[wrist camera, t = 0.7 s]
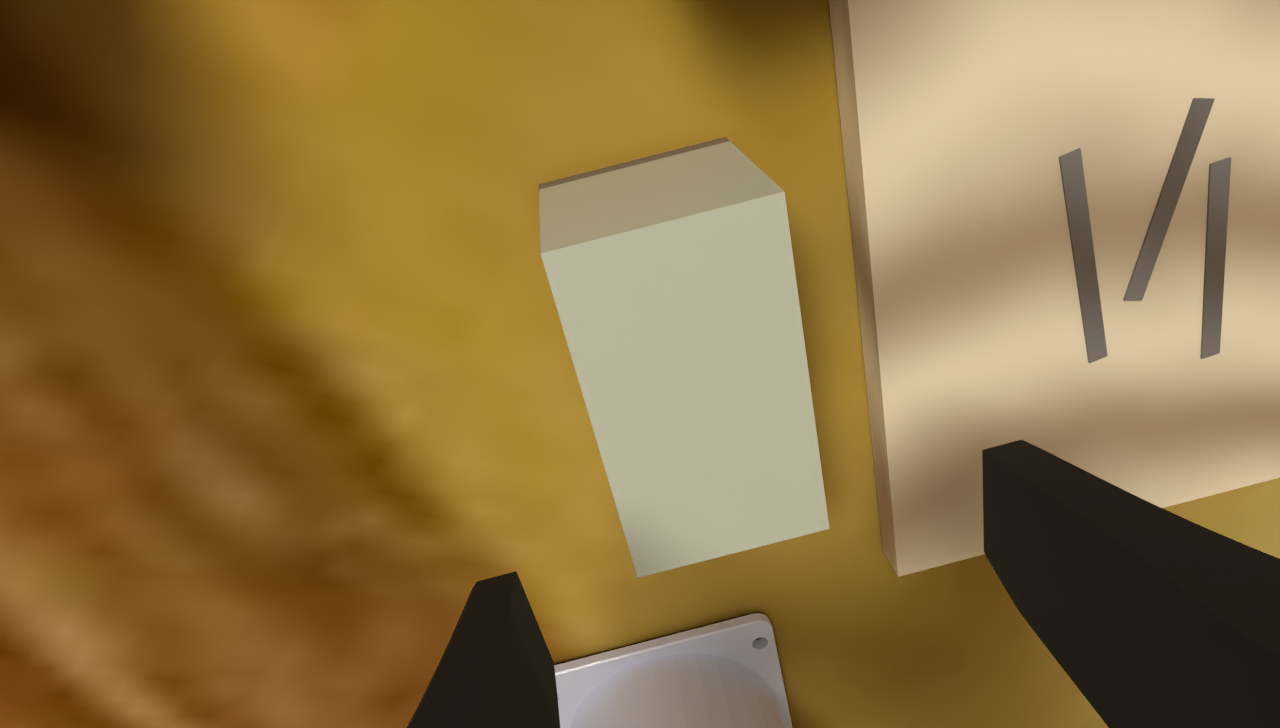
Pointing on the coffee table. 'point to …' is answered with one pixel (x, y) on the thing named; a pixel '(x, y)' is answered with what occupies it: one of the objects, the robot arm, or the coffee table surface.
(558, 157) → the coffee table surface
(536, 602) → the coffee table surface
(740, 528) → the block
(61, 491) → the coffee table surface
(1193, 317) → the birch board
